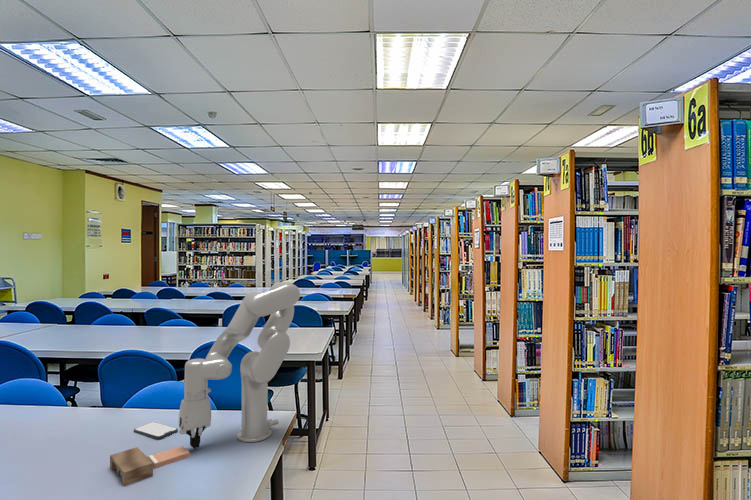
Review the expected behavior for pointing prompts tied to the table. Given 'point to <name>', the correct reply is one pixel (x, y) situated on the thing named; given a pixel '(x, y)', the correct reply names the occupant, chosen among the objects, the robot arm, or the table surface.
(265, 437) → the robot arm
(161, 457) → the salmon pink flat block
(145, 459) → the wooden channel block
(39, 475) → the table surface
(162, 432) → the smartphone
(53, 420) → the table surface
